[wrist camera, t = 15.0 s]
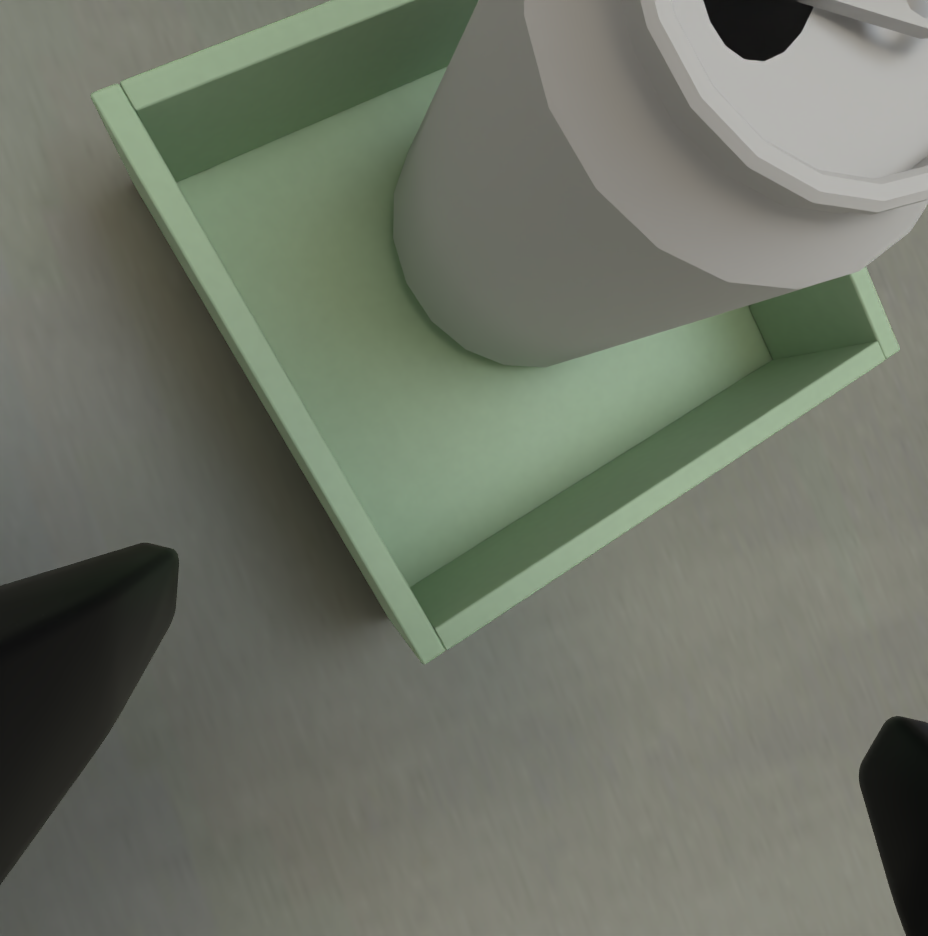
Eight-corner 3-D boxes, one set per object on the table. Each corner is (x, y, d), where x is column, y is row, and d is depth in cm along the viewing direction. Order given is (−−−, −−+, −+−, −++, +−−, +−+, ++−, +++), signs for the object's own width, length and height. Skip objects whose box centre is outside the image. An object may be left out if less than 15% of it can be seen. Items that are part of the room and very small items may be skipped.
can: (411, 70, 19) (644, -551, 7) (650, 151, 21) (1132, -228, 9) (364, 340, 18) (526, 151, 7) (611, 394, 20) (1052, 319, 9)
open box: (389, 620, 19) (424, 666, 15) (132, 181, 17) (87, 92, 13) (783, 369, 23) (901, 350, 18) (608, -20, 21) (697, -142, 16)
